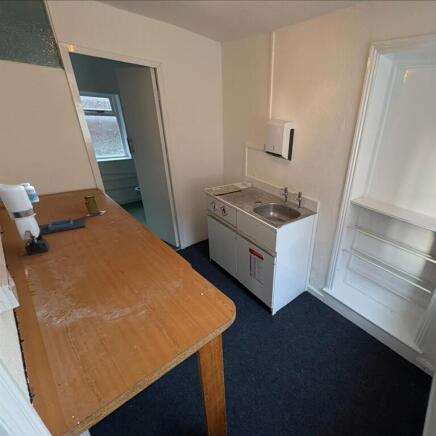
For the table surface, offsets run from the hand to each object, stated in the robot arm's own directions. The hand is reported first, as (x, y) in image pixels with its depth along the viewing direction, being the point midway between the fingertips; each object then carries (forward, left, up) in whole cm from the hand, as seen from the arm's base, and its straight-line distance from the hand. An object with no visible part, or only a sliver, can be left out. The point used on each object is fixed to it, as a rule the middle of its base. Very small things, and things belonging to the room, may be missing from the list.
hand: (38, 246), depth 109 cm
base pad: (+7, +27, -2) cm, 28 cm away
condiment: (+23, +41, -2) cm, 47 cm away
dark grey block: (0, 0, -2) cm, 2 cm away
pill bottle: (-11, +90, -2) cm, 91 cm away
